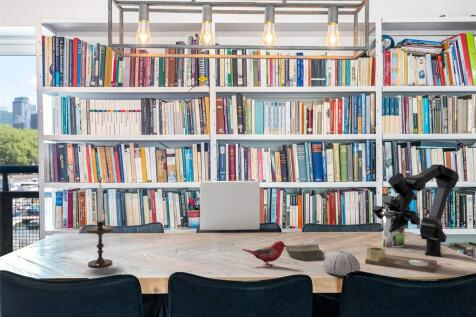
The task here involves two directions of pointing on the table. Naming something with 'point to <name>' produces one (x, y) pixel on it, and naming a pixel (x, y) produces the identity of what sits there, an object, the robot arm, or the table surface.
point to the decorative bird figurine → (269, 252)
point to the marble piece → (305, 252)
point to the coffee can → (397, 237)
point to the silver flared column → (387, 229)
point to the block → (229, 205)
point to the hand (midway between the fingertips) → (385, 231)
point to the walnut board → (404, 263)
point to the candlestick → (100, 233)
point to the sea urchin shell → (341, 263)
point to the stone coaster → (417, 263)
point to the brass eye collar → (375, 254)
